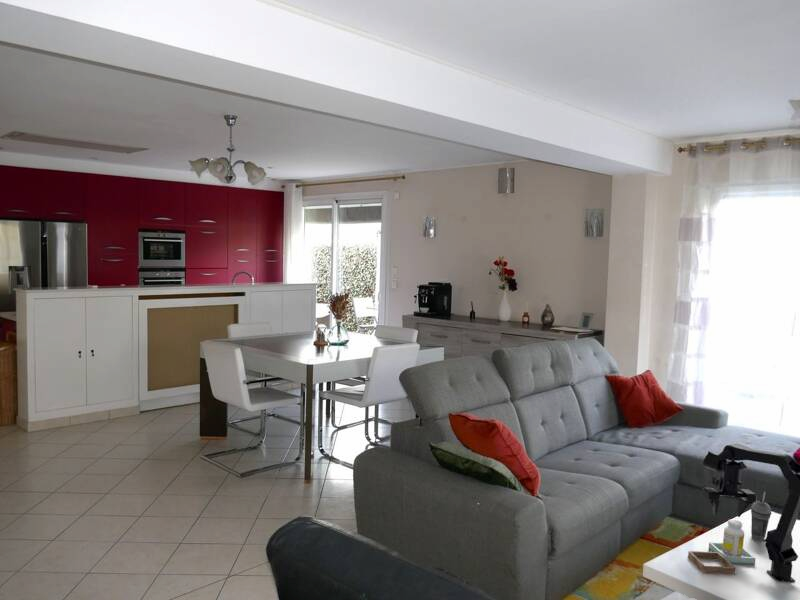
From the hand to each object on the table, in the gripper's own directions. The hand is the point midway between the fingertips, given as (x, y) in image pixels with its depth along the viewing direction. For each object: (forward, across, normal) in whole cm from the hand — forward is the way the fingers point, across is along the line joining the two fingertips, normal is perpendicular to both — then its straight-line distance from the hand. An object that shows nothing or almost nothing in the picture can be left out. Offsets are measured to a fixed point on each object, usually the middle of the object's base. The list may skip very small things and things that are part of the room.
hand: (726, 516), depth 244 cm
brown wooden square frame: (+13, +12, +14) cm, 22 cm away
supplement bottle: (+13, 0, +6) cm, 14 cm away
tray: (+13, 0, +6) cm, 14 cm away
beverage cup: (+13, -20, -10) cm, 26 cm away
